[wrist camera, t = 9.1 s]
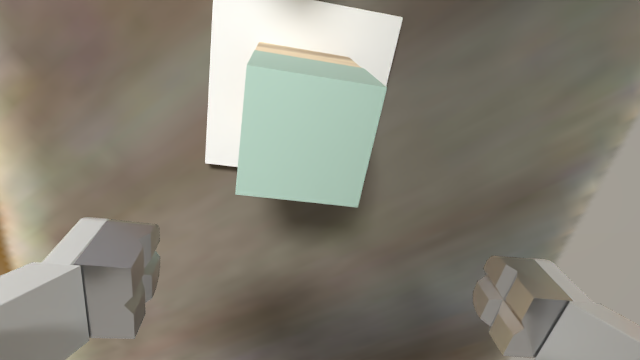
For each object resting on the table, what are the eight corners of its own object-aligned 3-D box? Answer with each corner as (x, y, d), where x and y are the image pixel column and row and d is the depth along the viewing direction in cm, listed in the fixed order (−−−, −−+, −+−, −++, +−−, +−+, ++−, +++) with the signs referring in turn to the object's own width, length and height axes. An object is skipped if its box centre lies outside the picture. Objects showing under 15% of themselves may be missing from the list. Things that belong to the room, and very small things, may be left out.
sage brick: (254, 49, 20) (246, 64, 15) (364, 68, 21) (387, 87, 16) (244, 155, 22) (235, 194, 18) (342, 167, 23) (357, 207, 19)
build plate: (216, -19, 24) (214, -20, 23) (398, 16, 25) (402, 17, 25) (207, 158, 28) (205, 163, 28) (360, 176, 30) (362, 181, 29)
